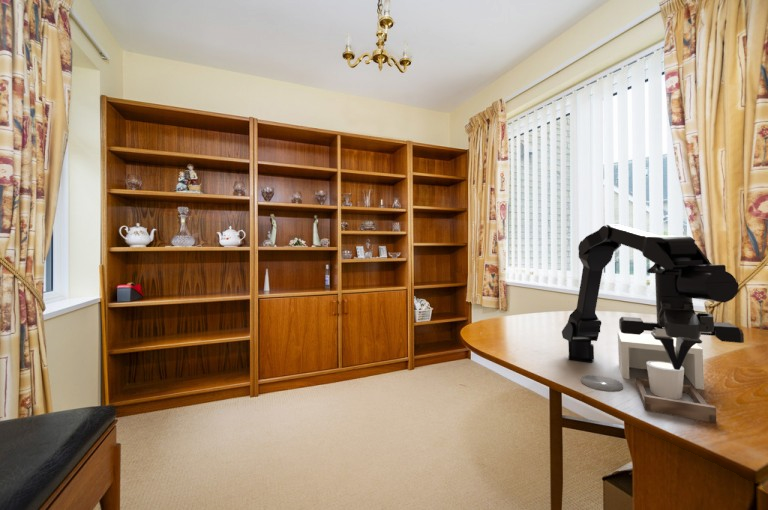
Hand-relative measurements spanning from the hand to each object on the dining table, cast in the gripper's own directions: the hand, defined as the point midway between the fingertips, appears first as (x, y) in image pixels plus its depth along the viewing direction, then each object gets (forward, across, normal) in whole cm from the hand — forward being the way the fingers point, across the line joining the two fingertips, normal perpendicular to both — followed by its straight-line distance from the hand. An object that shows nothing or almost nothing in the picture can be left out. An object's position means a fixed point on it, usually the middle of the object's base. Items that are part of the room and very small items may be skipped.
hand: (676, 369), depth 67 cm
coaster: (+9, -13, +10) cm, 19 cm away
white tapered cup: (+10, 0, +11) cm, 14 cm away
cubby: (+9, 0, +24) cm, 25 cm away
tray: (+9, 0, +7) cm, 12 cm away
